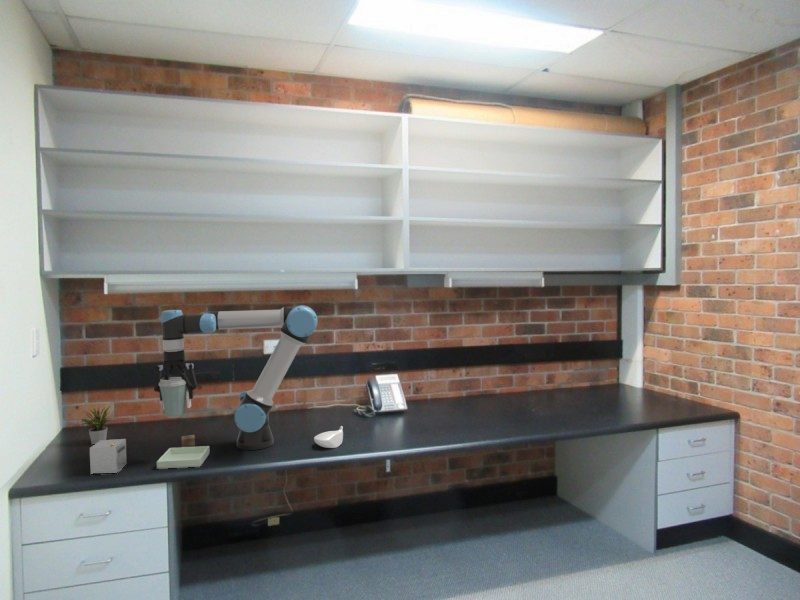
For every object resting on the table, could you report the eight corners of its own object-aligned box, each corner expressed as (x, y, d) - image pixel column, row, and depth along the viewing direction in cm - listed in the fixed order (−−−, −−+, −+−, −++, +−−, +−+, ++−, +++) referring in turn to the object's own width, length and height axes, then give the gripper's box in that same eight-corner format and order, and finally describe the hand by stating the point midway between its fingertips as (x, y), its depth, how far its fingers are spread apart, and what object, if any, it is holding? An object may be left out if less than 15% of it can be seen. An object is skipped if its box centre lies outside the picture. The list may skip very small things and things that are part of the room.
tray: (209, 453, 210) (209, 445, 209) (200, 467, 194) (199, 459, 194) (169, 455, 208) (169, 448, 208) (156, 469, 192) (156, 461, 192)
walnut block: (194, 446, 219) (194, 434, 219) (195, 449, 214) (194, 438, 214) (181, 447, 217) (181, 436, 217) (181, 451, 212) (181, 439, 212)
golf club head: (349, 425, 218) (324, 418, 213) (344, 451, 214) (318, 444, 209) (338, 427, 227) (314, 420, 221) (333, 452, 222) (308, 446, 217)
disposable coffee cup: (183, 410, 208) (181, 374, 208) (194, 415, 201) (192, 377, 200) (156, 416, 201) (153, 378, 200) (166, 421, 193) (164, 381, 193)
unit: (127, 464, 198) (126, 437, 197) (117, 473, 189) (116, 445, 188) (100, 466, 197) (99, 439, 196) (89, 475, 188) (88, 446, 187)
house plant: (98, 436, 233) (96, 400, 233) (125, 437, 231) (124, 401, 230) (72, 446, 219) (71, 408, 219) (101, 448, 217) (99, 410, 216)
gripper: (204, 347, 204) (207, 403, 206) (149, 350, 202) (152, 407, 203) (199, 350, 197) (202, 408, 198) (141, 352, 195) (145, 412, 196)
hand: (177, 408), depth 201 cm, fingers open, 8 cm apart
